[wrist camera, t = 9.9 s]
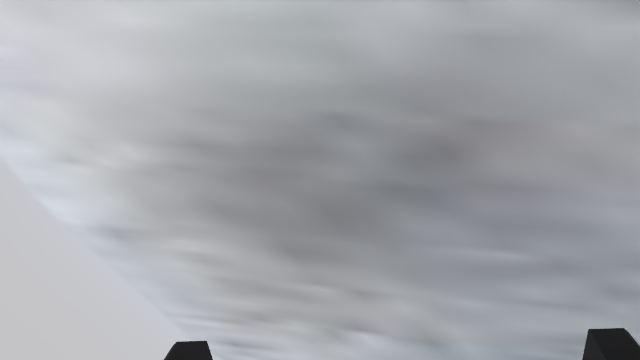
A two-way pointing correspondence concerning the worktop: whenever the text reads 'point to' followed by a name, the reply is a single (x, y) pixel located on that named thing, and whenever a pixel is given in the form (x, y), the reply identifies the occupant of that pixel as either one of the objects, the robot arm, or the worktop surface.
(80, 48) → the worktop surface
